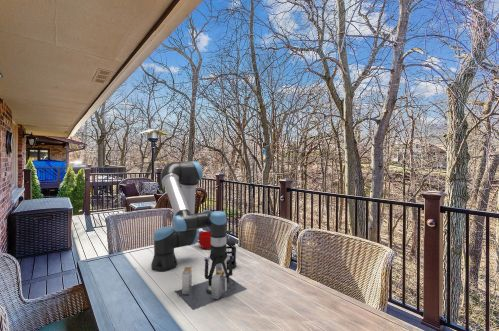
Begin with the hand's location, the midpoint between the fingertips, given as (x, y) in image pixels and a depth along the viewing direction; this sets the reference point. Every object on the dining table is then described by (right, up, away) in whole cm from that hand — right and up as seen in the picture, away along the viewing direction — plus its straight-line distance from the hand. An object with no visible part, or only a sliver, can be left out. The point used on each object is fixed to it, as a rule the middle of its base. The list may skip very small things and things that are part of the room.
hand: (218, 290), depth 135 cm
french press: (+3, -1, +33) cm, 33 cm away
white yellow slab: (0, -1, +15) cm, 15 cm away
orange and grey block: (-16, -2, +3) cm, 16 cm away
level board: (-4, -3, +4) cm, 7 cm away
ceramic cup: (-18, +1, +68) cm, 71 cm away
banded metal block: (0, -2, -1) cm, 2 cm away
